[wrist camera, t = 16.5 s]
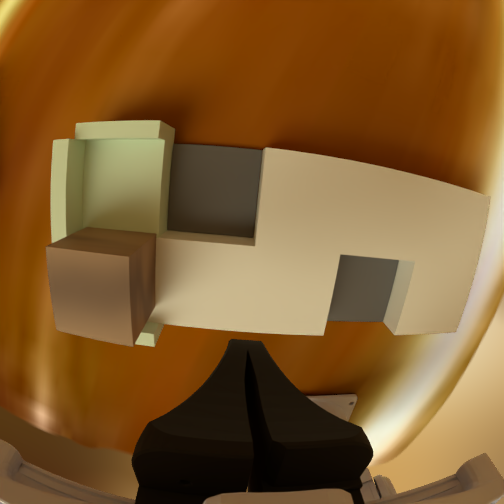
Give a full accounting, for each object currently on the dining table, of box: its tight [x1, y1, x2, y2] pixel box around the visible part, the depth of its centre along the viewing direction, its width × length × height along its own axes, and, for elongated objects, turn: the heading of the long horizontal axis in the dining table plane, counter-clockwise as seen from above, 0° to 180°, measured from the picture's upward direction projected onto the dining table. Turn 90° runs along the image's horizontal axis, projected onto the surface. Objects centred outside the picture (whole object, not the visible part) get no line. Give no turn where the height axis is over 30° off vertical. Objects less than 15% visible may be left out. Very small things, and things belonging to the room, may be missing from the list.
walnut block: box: [46, 227, 156, 347], centre depth 16 cm, size 5×5×5 cm
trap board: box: [51, 120, 490, 347], centre depth 19 cm, size 14×31×5 cm, turn 84°
